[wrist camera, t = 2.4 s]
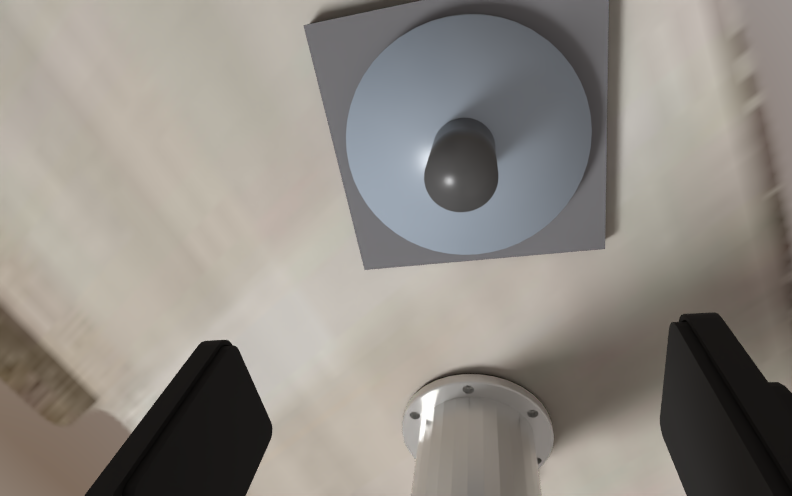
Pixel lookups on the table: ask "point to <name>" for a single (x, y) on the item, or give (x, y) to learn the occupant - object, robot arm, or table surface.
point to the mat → (523, 3)
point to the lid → (468, 134)
